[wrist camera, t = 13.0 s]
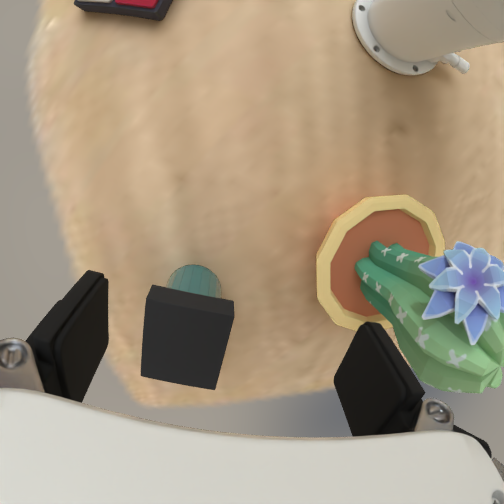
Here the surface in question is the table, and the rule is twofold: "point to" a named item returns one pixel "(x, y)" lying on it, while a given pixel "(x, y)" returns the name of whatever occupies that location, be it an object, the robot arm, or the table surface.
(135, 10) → the calculator
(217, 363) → the black box
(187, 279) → the cup
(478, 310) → the potted cactus
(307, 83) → the table surface
